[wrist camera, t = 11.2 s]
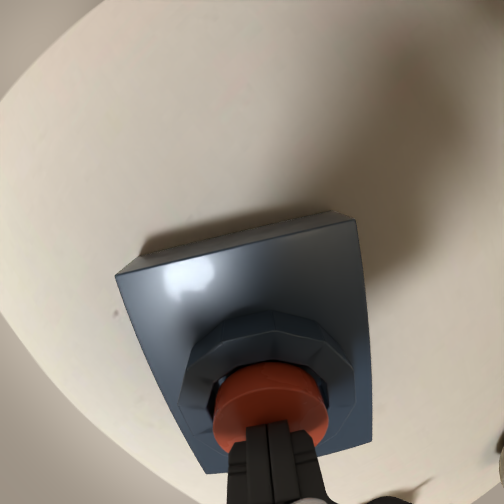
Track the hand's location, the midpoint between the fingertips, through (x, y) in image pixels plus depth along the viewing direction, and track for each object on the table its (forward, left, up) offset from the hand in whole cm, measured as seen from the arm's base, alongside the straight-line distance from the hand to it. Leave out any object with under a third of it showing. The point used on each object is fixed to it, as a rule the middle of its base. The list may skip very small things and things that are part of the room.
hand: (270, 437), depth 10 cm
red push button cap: (0, 0, -2) cm, 2 cm away
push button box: (0, 0, -7) cm, 7 cm away
